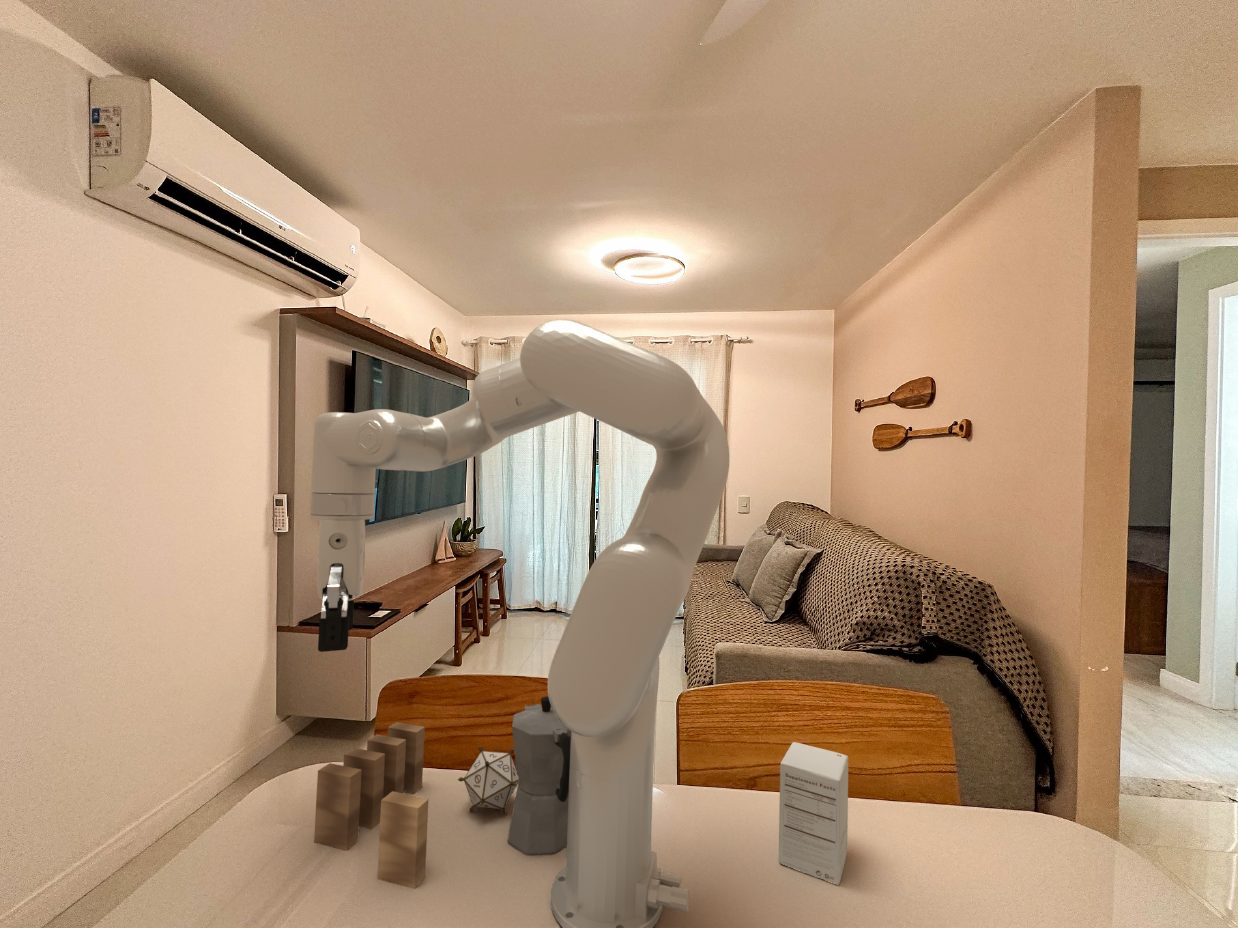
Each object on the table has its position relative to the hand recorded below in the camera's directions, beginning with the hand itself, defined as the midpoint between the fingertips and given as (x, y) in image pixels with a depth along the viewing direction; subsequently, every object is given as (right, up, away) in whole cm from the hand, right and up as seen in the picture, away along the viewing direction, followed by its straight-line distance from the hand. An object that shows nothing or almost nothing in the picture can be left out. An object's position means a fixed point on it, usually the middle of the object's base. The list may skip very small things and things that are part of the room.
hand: (336, 639), depth 72 cm
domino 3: (+4, -26, +12) cm, 29 cm away
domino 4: (+3, -26, +8) cm, 27 cm away
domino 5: (+11, -26, -7) cm, 29 cm away
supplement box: (+61, -28, -1) cm, 67 cm away
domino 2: (+2, -26, +3) cm, 26 cm away
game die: (+18, -27, +8) cm, 33 cm away
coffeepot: (+27, -27, +1) cm, 38 cm away
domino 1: (0, -26, -1) cm, 26 cm away
